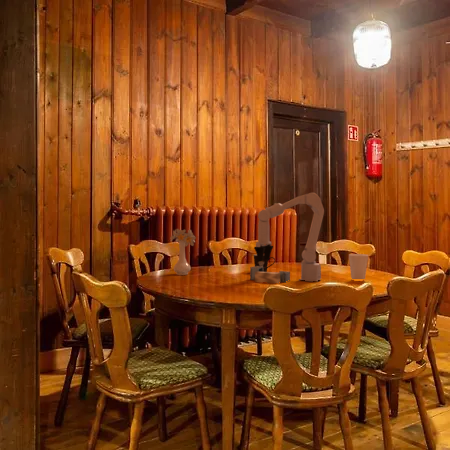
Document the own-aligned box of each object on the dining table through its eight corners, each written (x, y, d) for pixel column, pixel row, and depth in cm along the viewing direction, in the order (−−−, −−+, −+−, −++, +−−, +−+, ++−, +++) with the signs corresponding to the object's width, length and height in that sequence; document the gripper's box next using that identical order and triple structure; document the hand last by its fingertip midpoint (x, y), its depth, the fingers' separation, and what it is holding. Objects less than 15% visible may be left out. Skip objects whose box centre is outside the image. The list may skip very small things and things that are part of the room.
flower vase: (183, 277, 251) (183, 229, 250) (164, 273, 264) (164, 228, 264) (203, 275, 259) (203, 229, 258) (183, 271, 273) (183, 228, 272)
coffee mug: (251, 272, 269) (251, 255, 269) (257, 271, 277) (257, 254, 277) (270, 274, 264) (270, 256, 264) (275, 272, 272) (276, 254, 271)
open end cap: (289, 280, 239) (290, 271, 239) (284, 282, 233) (285, 273, 233) (279, 280, 242) (279, 271, 242) (274, 281, 236) (274, 272, 236)
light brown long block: (280, 283, 233) (280, 272, 233) (277, 284, 230) (277, 273, 230) (257, 281, 239) (257, 271, 239) (254, 282, 236) (254, 272, 236)
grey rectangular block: (263, 278, 246) (263, 266, 246) (257, 280, 240) (257, 267, 240) (255, 278, 248) (255, 265, 248) (250, 279, 242) (250, 267, 242)
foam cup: (363, 282, 234) (363, 256, 234) (345, 280, 240) (345, 255, 240) (370, 280, 242) (370, 254, 242) (353, 278, 248) (353, 253, 247)
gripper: (262, 232, 250) (262, 258, 250) (250, 234, 237) (250, 261, 238) (275, 233, 247) (275, 259, 247) (263, 234, 234) (263, 261, 234)
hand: (263, 260), depth 242 cm, fingers open, 7 cm apart
